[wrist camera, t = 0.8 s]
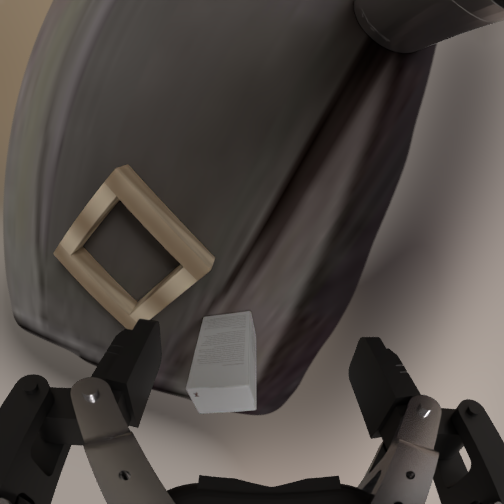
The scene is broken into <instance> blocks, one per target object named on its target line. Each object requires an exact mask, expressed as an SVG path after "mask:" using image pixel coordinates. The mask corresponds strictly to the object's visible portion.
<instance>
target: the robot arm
mask: <svg viewBox="0 0 504 504" xmlns="http://www.w3.org/2000/svg"><path fill="white" fill-rule="evenodd" d="M354 11H355V15H356V18H357V20H358V22H359V24H360V26H361V27H362V28H363V30H364V31H365V32H366V33H367V34H368V35H369V36H370V37H371V38H372V39H373V40H374V41H376V42H377V43H378V44H380V45H381V46H383V47H385V48H387V49H389V50H392V51H395V52H399V53H412V52H415V51H418V50H420V49H423V48H425V47H428V46H430V45H433V44H436V43H438V42H441V41H443V40H446V39H449V38H451V37H454V36H456V35H459V34H462V33H465V32H468V31H471V30H474V29H477V28H480V27H483V26H486V25H490V24H493V23H496V22H499V21H503V20H504V0H355V1H354ZM161 355H162V353H161V340H160V327H159V322H158V321H153V320H147V319H139V320H138V321H137V323H136V325H135V326H134V328H133V330H130V329H125V330H123V331H122V332H120V333H119V334H118V335H116V337H115V338H114V340H113V342H112V343H111V345H110V346H109V348H108V350H107V352H106V353H105V354H104V356H103V358H102V359H101V361H100V363H99V364H98V366H97V368H96V370H95V371H94V373H93V374H92V376H91V377H88V378H84V379H81V380H79V381H77V382H76V383H75V384H74V385H73V386H72V388H53V387H50V386H49V384H48V382H47V380H46V379H45V378H44V377H42V376H39V375H27V376H25V377H22V378H21V379H20V380H19V381H18V382H17V383H16V384H15V386H14V387H13V389H12V390H11V392H10V393H9V395H8V396H7V398H6V399H5V401H4V402H3V404H2V406H1V408H0V504H51V501H52V498H53V495H54V492H55V489H56V486H57V483H58V480H59V477H60V474H61V471H62V468H63V465H64V463H65V460H66V458H67V455H68V452H69V450H70V447H71V445H83V446H84V449H85V452H86V455H87V458H88V460H89V463H90V466H91V468H92V471H93V473H94V476H95V478H96V480H97V482H98V485H99V487H100V489H101V491H102V494H103V496H104V498H105V500H106V502H107V504H425V501H426V499H427V495H428V493H429V489H430V486H431V483H432V479H433V480H434V483H435V486H436V488H437V492H438V494H439V498H440V501H441V504H504V442H503V440H502V439H501V437H500V435H499V433H498V432H497V430H496V428H495V426H494V425H493V423H492V421H491V420H490V418H489V416H488V415H487V413H486V411H485V410H484V408H483V407H482V406H481V405H480V404H479V403H478V402H476V401H473V400H463V401H462V402H461V403H460V404H459V406H458V407H457V408H456V409H444V408H441V407H440V405H439V404H438V402H437V401H436V400H434V399H433V398H431V397H429V396H426V395H421V394H420V392H419V391H418V389H417V387H416V386H415V384H414V382H413V380H412V379H411V377H410V375H409V374H408V373H407V371H406V369H405V367H404V366H403V364H402V362H401V361H400V359H399V357H398V356H397V355H396V354H395V353H393V352H392V351H391V350H390V349H386V347H385V346H384V344H383V342H382V341H381V339H380V338H379V337H362V338H360V340H359V342H358V345H357V347H356V350H355V353H354V356H353V358H352V361H351V364H350V367H349V380H350V382H351V385H352V388H353V390H354V393H355V396H356V399H357V401H358V404H359V407H360V409H361V412H362V415H363V418H364V421H365V423H366V426H367V429H368V432H369V435H370V437H371V439H372V438H378V437H382V439H383V442H382V443H381V445H380V447H379V448H378V451H377V453H376V455H375V457H374V459H373V461H372V463H371V465H370V467H369V469H368V471H367V473H366V475H365V477H364V478H363V480H362V481H361V483H360V484H359V486H358V487H353V486H350V485H345V484H340V480H339V476H332V477H323V478H309V479H304V480H300V481H296V482H293V483H288V484H284V485H280V486H276V487H268V486H263V485H259V484H254V483H250V482H246V481H242V480H238V479H234V478H221V477H211V476H202V475H199V483H193V484H187V485H182V486H178V487H175V488H172V489H170V490H167V491H166V489H165V488H164V486H163V485H162V483H161V482H160V480H159V478H158V477H157V475H156V473H155V472H154V470H153V468H152V467H151V465H150V463H149V462H148V460H147V458H146V457H145V455H144V453H143V451H142V449H141V447H140V446H139V444H138V442H137V440H136V438H135V436H134V434H133V433H132V432H130V430H129V428H128V426H133V427H137V428H138V427H139V424H140V420H141V418H142V415H143V412H144V409H145V406H146V403H147V400H148V397H149V395H150V392H151V389H152V386H153V384H154V381H155V378H156V375H157V373H158V370H159V367H160V363H161ZM463 446H464V447H465V449H466V451H467V453H468V455H469V457H470V460H471V469H470V471H469V472H468V471H467V469H466V467H465V464H464V462H463V460H462V457H461V455H460V453H459V450H460V449H461V448H462V447H463Z"/></svg>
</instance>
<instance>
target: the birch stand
mask: <svg viewBox="0 0 504 504" xmlns="http://www.w3.org/2000/svg"><path fill="white" fill-rule="evenodd" d="M119 200H120V201H121V202H122V203H123V204H124V205H125V206H126V207H127V208H128V209H129V211H130V212H131V213H132V214H133V215H134V216H135V217H136V218H137V219H138V220H139V221H140V222H141V223H142V225H143V226H144V227H145V228H146V229H147V230H148V231H149V232H150V233H151V234H152V235H153V236H154V237H155V238H156V239H157V240H158V241H159V242H160V243H161V245H162V246H163V247H164V248H165V249H166V250H167V251H168V252H169V253H170V254H171V255H172V256H173V257H174V258H175V259H176V260H177V261H178V262H179V263H180V265H179V266H178V267H176V268H175V269H174V270H173V271H172V272H171V273H170V274H168V275H167V276H166V277H165V278H164V279H163V280H162V281H161V282H159V283H158V284H157V285H156V286H155V287H154V288H153V289H152V290H151V291H149V292H148V293H147V294H146V295H145V296H144V297H143V298H142V299H141V300H139V301H138V302H137V301H136V300H135V299H134V298H133V297H132V296H131V295H130V294H128V293H127V292H126V291H125V290H124V289H123V288H122V287H121V286H120V285H119V284H118V283H117V282H116V281H115V280H114V279H113V278H112V277H111V276H110V275H109V274H108V272H107V271H106V270H105V269H104V268H103V267H102V266H101V265H100V264H99V263H98V262H97V261H96V260H95V259H94V258H93V257H92V256H91V254H90V253H89V252H88V251H87V250H86V249H85V248H84V247H83V245H84V244H85V243H86V241H87V240H88V239H89V237H90V236H91V235H92V233H93V232H94V231H95V230H96V228H97V227H98V226H99V225H100V223H101V222H102V221H103V220H104V218H105V217H106V216H107V215H108V214H109V212H110V211H111V210H112V209H113V208H114V206H115V205H116V204H117V203H118V202H119ZM53 254H54V255H55V256H56V257H57V259H58V260H59V261H60V262H61V263H62V264H63V265H64V266H65V268H66V269H67V270H68V271H69V272H70V273H71V274H72V275H73V276H74V277H75V278H76V280H77V281H78V282H79V283H80V284H81V285H82V286H83V287H84V288H85V289H86V290H87V291H88V292H89V293H90V294H91V295H92V296H93V297H94V298H95V299H96V300H97V301H98V302H99V303H100V304H101V305H102V306H103V307H104V308H105V309H106V310H107V311H108V312H109V313H110V314H111V315H112V316H113V317H114V318H116V319H117V320H118V321H119V322H120V323H121V324H122V325H123V326H124V327H125V328H126V329H130V330H133V328H134V326H135V325H136V323H137V321H138V320H139V319H147V320H150V319H151V318H153V317H154V316H155V315H156V314H157V313H159V312H160V311H161V310H162V309H164V308H165V307H166V306H167V305H168V304H170V303H171V302H172V301H173V300H175V299H176V298H177V297H178V296H179V295H181V294H182V293H183V292H184V291H186V290H187V289H188V288H189V287H191V286H192V285H193V284H194V283H195V282H197V281H198V280H199V279H200V278H202V277H203V276H204V275H205V274H207V273H208V272H209V271H210V270H211V269H212V266H213V263H214V260H215V257H214V256H213V255H212V254H211V253H210V252H209V251H208V250H207V249H206V247H205V246H204V245H203V244H202V243H201V242H200V241H199V240H198V239H197V238H196V237H195V236H194V235H193V234H192V233H191V232H190V231H189V230H188V229H187V228H186V226H185V225H184V224H183V223H182V222H181V221H180V220H179V219H178V218H177V217H176V216H175V215H174V214H173V213H172V212H171V211H170V209H169V208H168V207H167V206H166V205H165V204H164V203H163V202H162V201H161V200H160V199H159V198H158V197H157V195H156V194H155V193H154V192H153V191H152V190H151V189H150V188H149V187H148V186H147V185H146V184H145V182H144V181H143V180H142V179H141V178H140V177H139V176H138V175H137V174H136V173H135V171H134V170H133V169H132V168H131V167H130V166H129V165H125V166H121V167H118V168H116V169H115V170H114V171H113V172H112V173H111V175H110V176H109V177H108V178H107V179H106V181H105V182H104V183H103V184H102V186H101V187H100V188H99V189H98V191H97V192H96V193H95V195H94V196H93V197H92V198H91V200H90V201H89V202H88V204H87V205H86V206H85V208H84V209H83V211H82V212H81V213H80V215H79V216H78V217H77V219H76V220H75V222H74V223H73V225H72V226H71V227H70V229H69V230H68V232H67V233H66V235H65V236H64V238H63V239H62V241H61V242H60V244H59V245H58V247H57V249H56V250H55V252H54V253H53Z"/></svg>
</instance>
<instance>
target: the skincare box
mask: <svg viewBox="0 0 504 504" xmlns="http://www.w3.org/2000/svg"><path fill="white" fill-rule="evenodd" d="M186 390H187V392H188V394H189V396H190V398H191V399H192V401H193V403H194V405H195V407H196V408H197V410H198V412H199V413H200V414H202V413H222V412H239V411H251V410H256V333H255V329H254V324H253V319H252V315H251V311H245V312H238V313H230V314H223V315H215V316H206V317H203V321H202V325H201V329H200V333H199V337H198V341H197V345H196V348H195V352H194V357H193V361H192V365H191V369H190V373H189V378H188V381H187V385H186Z"/></svg>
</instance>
